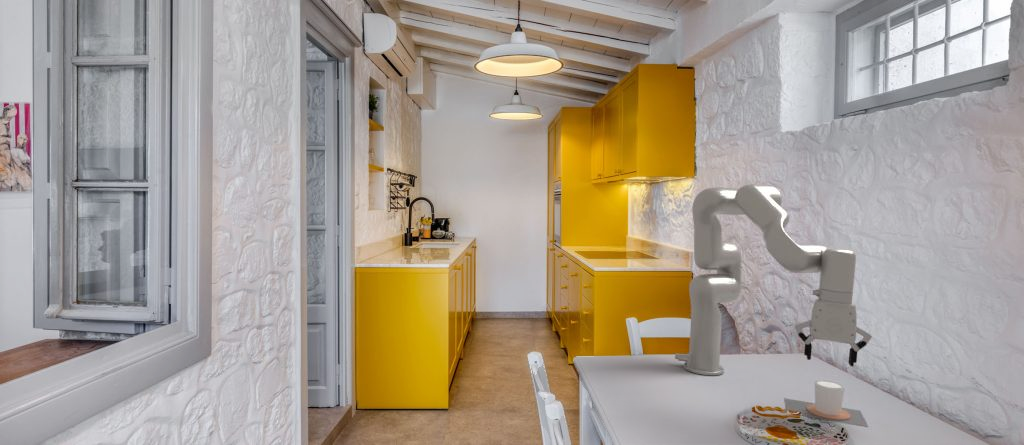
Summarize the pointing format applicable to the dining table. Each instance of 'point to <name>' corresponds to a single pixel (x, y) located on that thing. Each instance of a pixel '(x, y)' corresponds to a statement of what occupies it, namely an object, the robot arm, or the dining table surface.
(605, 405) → the dining table surface
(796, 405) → the board
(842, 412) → the coaster
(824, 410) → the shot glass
